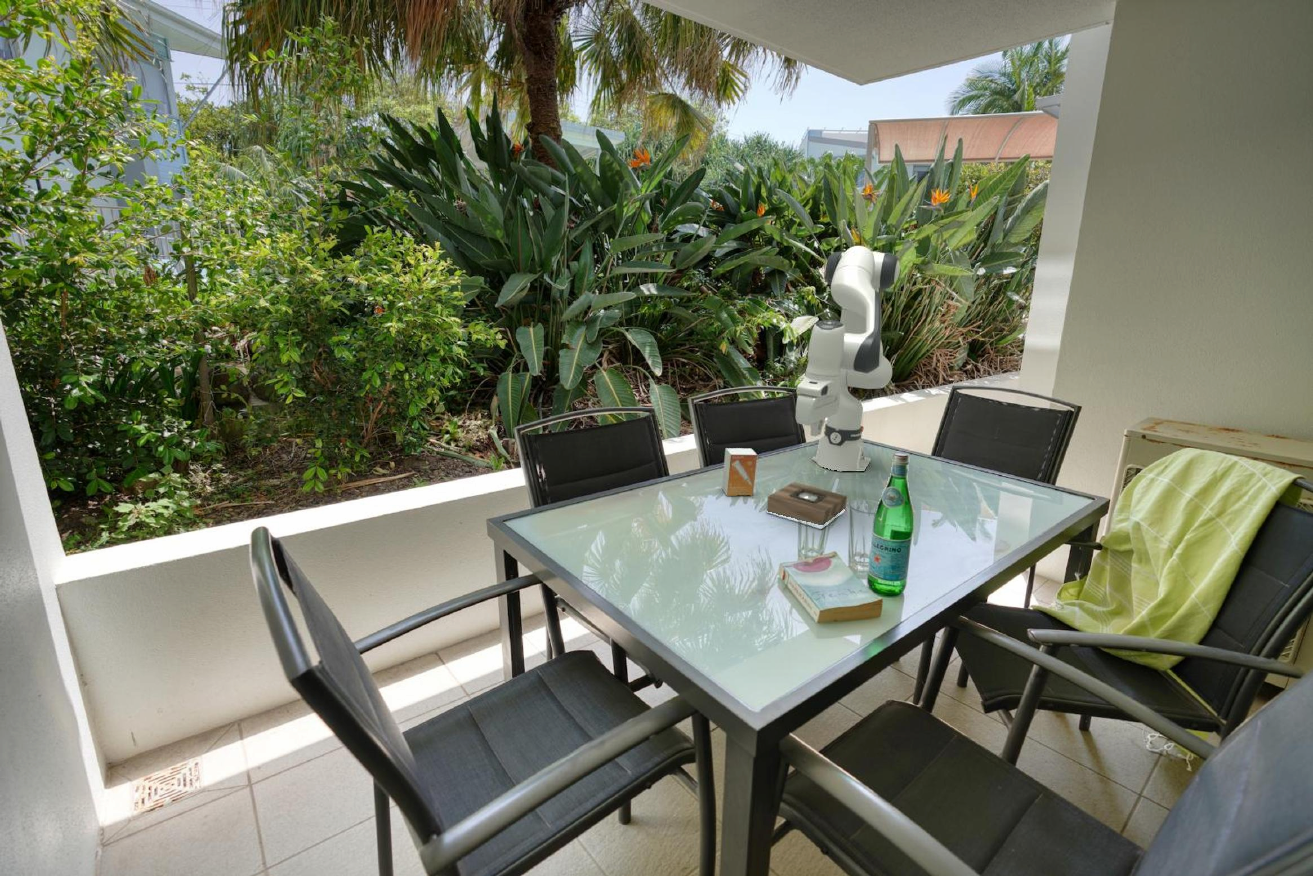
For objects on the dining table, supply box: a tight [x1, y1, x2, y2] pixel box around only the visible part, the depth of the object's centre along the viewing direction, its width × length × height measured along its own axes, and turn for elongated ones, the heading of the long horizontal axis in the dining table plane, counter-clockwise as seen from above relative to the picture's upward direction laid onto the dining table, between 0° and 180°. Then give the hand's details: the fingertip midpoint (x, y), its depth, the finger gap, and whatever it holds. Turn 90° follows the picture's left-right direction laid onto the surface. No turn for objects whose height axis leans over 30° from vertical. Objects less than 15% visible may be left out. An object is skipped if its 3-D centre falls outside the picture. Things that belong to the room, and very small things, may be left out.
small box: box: [721, 447, 758, 497], centre depth 181 cm, size 8×6×13 cm
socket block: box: [766, 481, 848, 525], centre depth 170 cm, size 16×16×5 cm
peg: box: [799, 493, 817, 501], centre depth 170 cm, size 5×5×5 cm
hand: (815, 435), depth 164 cm, fingers closed
